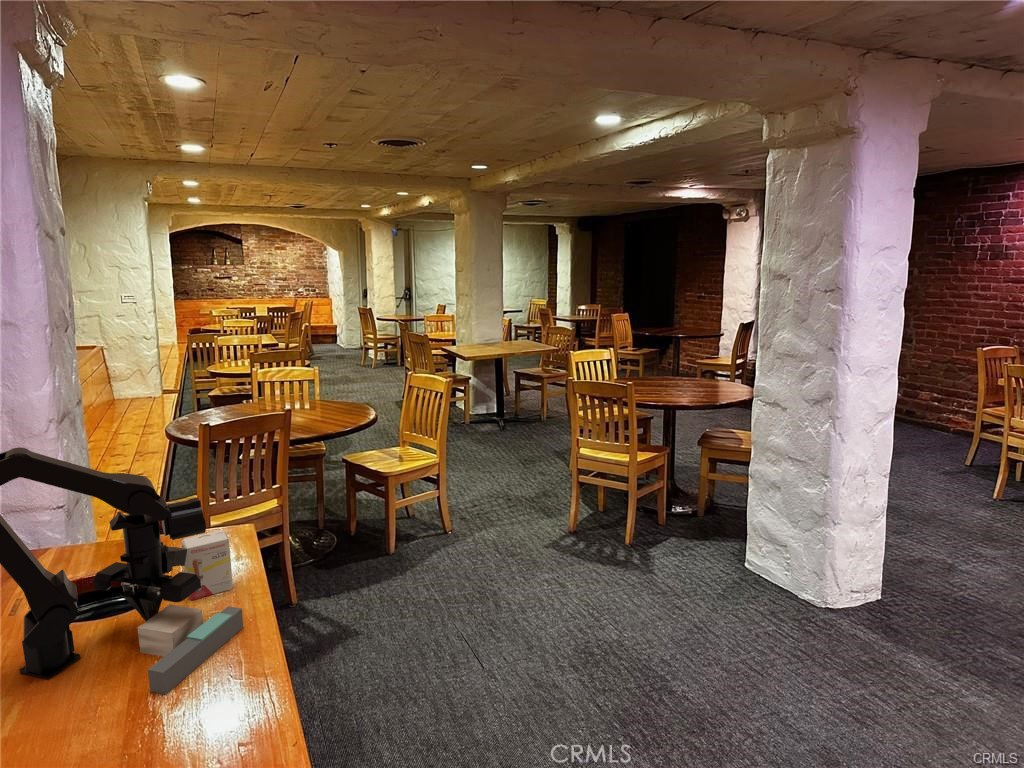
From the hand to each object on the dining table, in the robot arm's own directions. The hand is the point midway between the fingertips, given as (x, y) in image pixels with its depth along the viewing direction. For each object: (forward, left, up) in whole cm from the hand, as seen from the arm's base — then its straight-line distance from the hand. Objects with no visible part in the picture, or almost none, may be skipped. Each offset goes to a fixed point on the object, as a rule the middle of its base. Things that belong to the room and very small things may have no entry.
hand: (151, 623), depth 124 cm
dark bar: (-3, -13, -3) cm, 13 cm away
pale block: (-1, -5, -3) cm, 6 cm away
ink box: (+17, +1, -3) cm, 17 cm away
